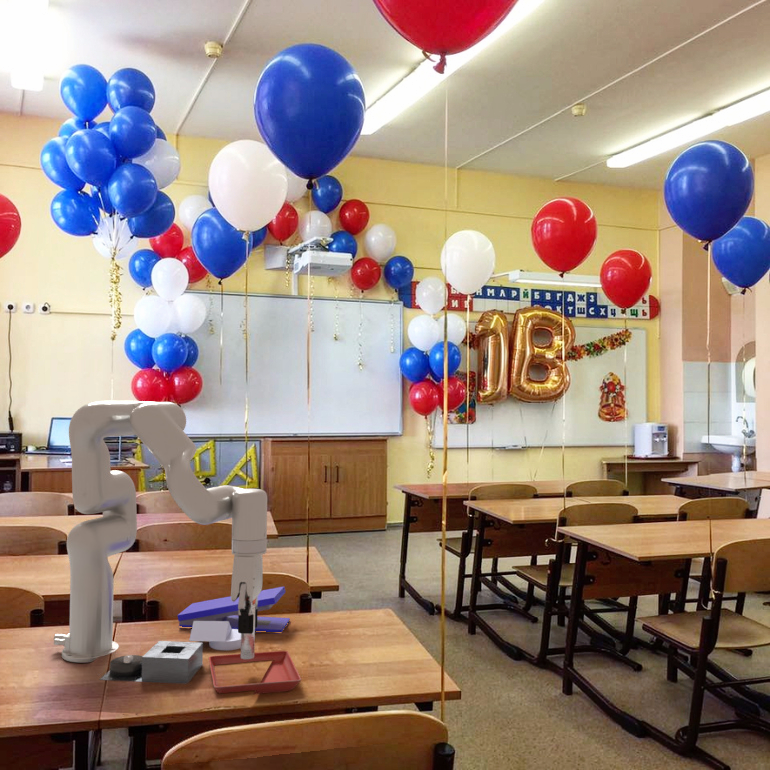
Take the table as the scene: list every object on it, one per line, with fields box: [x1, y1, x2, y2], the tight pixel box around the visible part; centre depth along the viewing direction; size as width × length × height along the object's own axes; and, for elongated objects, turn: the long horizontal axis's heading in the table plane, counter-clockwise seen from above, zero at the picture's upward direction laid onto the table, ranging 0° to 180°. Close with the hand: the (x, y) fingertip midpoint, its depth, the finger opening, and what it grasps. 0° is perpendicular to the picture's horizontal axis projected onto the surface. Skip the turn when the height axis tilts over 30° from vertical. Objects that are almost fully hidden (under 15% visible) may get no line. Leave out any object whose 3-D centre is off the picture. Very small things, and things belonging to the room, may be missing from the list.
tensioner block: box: [98, 640, 204, 685], centre depth 161 cm, size 19×11×6 cm, turn 87°
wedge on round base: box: [188, 621, 241, 651], centre depth 180 cm, size 9×7×13 cm
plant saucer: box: [208, 650, 302, 695], centre depth 161 cm, size 18×18×3 cm
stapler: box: [176, 586, 291, 633], centre depth 198 cm, size 12×28×10 cm, turn 85°
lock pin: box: [239, 598, 256, 659], centre depth 161 cm, size 3×3×13 cm
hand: (247, 629), depth 161 cm, fingers closed on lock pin, 3 cm apart
